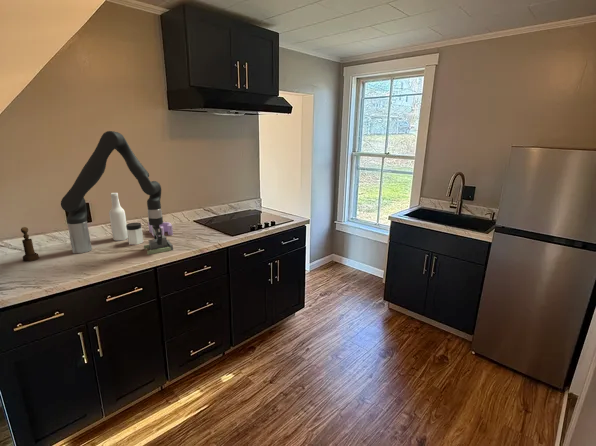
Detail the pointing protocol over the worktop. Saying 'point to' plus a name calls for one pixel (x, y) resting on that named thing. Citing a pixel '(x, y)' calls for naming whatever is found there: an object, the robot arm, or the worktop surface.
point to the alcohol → (117, 219)
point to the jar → (134, 233)
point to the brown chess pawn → (28, 247)
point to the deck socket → (169, 248)
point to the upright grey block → (154, 244)
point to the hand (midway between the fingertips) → (158, 242)
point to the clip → (163, 228)
